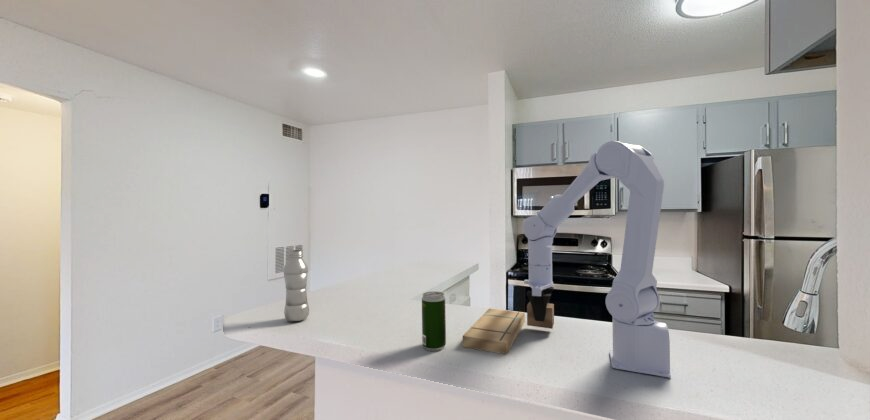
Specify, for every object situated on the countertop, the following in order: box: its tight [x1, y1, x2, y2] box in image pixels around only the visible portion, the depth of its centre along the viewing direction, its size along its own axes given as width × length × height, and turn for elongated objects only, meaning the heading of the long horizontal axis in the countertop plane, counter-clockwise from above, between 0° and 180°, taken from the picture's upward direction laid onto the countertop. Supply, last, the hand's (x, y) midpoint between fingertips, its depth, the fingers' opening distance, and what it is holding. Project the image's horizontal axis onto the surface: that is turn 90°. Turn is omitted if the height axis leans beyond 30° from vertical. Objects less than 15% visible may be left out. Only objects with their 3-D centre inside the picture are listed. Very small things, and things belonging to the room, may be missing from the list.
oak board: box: [462, 308, 526, 355], centre depth 83 cm, size 10×22×3 cm, turn 155°
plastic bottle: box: [282, 249, 310, 322], centre depth 95 cm, size 6×7×20 cm
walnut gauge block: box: [526, 301, 555, 330], centre depth 84 cm, size 6×4×5 cm, turn 65°
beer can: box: [421, 291, 447, 352], centre depth 75 cm, size 5×5×12 cm
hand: (540, 317), depth 84 cm, fingers closed on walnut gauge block, 4 cm apart
